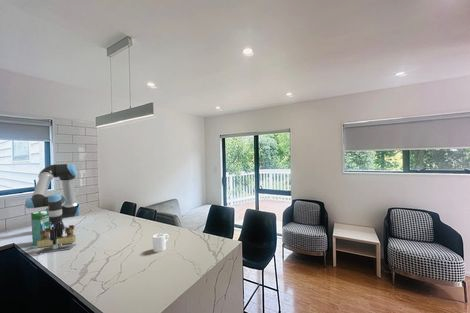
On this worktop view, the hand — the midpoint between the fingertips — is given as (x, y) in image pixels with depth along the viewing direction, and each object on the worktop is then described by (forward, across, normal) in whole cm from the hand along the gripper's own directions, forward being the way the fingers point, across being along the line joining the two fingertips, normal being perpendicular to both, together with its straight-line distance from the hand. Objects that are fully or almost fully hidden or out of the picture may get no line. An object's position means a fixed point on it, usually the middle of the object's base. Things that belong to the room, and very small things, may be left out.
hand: (57, 247), depth 156 cm
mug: (+2, +27, +75) cm, 80 cm away
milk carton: (+2, -20, -19) cm, 28 cm away
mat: (+1, 0, 0) cm, 1 cm away
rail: (-3, 0, 0) cm, 3 cm away
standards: (+1, -10, -4) cm, 11 cm away
